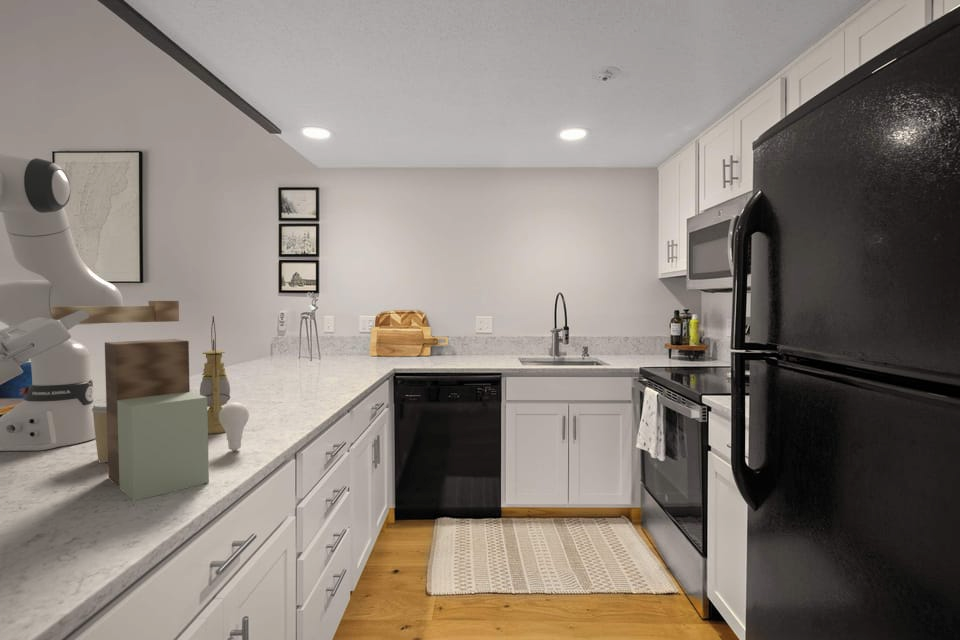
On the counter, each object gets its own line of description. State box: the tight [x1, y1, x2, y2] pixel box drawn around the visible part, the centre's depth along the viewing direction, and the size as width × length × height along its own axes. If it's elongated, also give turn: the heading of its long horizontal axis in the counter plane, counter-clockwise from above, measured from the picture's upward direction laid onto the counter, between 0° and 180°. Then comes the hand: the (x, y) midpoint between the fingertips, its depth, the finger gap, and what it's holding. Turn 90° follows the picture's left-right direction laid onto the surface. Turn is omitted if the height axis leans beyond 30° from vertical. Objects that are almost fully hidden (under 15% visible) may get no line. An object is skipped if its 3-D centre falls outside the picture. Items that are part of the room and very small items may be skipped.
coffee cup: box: [92, 400, 108, 463], centre depth 113 cm, size 9×9×12 cm
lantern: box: [199, 315, 231, 435], centre depth 136 cm, size 12×10×30 cm
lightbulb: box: [219, 401, 250, 452], centre depth 117 cm, size 6×6×11 cm
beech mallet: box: [51, 300, 180, 324], centre depth 97 cm, size 19×4×4 cm, turn 137°
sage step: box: [117, 391, 210, 501], centre depth 95 cm, size 12×9×16 cm
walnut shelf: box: [104, 338, 191, 489], centre depth 101 cm, size 12×8×26 cm, turn 137°
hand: (83, 312), depth 93 cm, fingers closed on beech mallet, 3 cm apart
